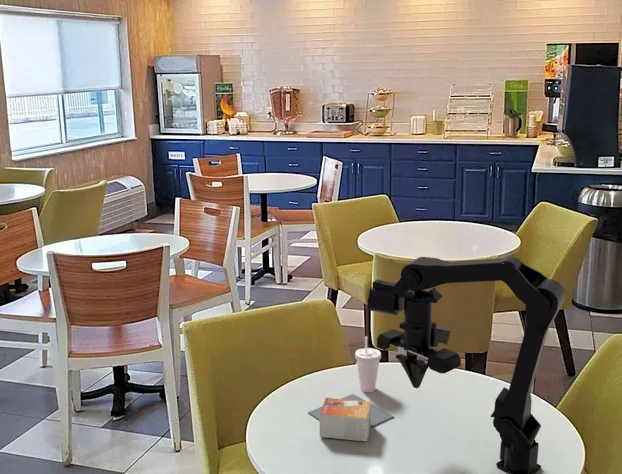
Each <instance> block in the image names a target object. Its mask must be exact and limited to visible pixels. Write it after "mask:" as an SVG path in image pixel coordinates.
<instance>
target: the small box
mask: <svg viewBox="0 0 622 474" xmlns="http://www.w3.org/2000/svg"><path fill="white" fill-rule="evenodd" d="M372 403H373V402H372V401H368V400H365V401H357V400H346V399H342V398H335V397H334V398H333V397H325V399H324V402H323V404H322V406H321V407H322V409H321V412H320V417H319V419H320V420H319V438H325V439H326V438H327V439H337V440H347V441H349V440H350V441H358V442H368V439H369V435H370V431H371V430H370V429H371V428H370V426H371V405H372Z"/></svg>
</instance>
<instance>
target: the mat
mask: <svg viewBox="0 0 622 474" xmlns="http://www.w3.org/2000/svg"><path fill="white" fill-rule="evenodd" d="M341 399H346V400H357V401H366V400H365V399H363V398H361V397H359V396H358V395H356V394H354V393H352V394H349V395H346V396H344V397H342V398H341ZM321 409H322V406H320V407H318V408H314V409H313V410H310V411H308V412H307V414H308V415H310V416H312V417H313V418H314V419H317V420H318V421H320V419H319V417H320V412H321ZM393 418H395V415H392V414H391V413H390V412H388V411H386V410H384V409H381V407H378V406H377V405H375V404H372V405H371V426H370V429H372V428H375V427H376V426H379V425H380V424H383V423H384V422H387V421H389V420H391V419H393Z"/></svg>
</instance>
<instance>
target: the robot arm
mask: <svg viewBox="0 0 622 474" xmlns="http://www.w3.org/2000/svg"><path fill="white" fill-rule="evenodd" d="M501 281H502V282H503V283H504V284H506V286H507V287H509V289H510V290H511V292H512V293H513V294H514V295H515V296H516V298H517V299H518V300H519V301H521V302H522V303H523V304H524V305H525V308H524V310H525V311H524V319H525V320H524V322H525V329H524V330H525V331H524V335H523V338H522V341H521V345H520V348H519V353H518V355H517V359H516V362H515V367H514V370H513V374H512V377H511V381H510V385H509V387H508V388H509V389H508V388H507V387H503V388H502V389H501V391H500V392H499V394H498V395H497V396H496V398H495V401H494V409H493V412H492V413H491V414H490V418H493V419H492V424H493V428H495V431H496V432H497V433H498V434H499V437H500V439H501V441H500V448H499V449H500V450H499V461H497V462H496V467H498V468H499V469H500V470H501V469H502V470H503V471H505V472H507V473H509V474H535V473H537V472H538V471H540V470H541V469H542V465H541V464H539V463H538V456H539V445H540V443H539V442H537V441H536V437H537V435H538V434H539V431H541V427H542V424H541V423H540V422H539V421H538V420H537V418H535V416H534V415H533V414H532V403H533V402H532V401H533V400H532V393H531V392H532V388H533V384H534V381H535V377H536V374H537V370H538V367H539V364H540V359H541V357H542V353H543V349H544V346H545V344H546V343H545V342H546V338H547V336H548V333H549V330H550V327H551V325H552V323H553V322H554V320H555V319H556V316H557V315H558V313H559V311H560V309H561V307H562V305H563V303H564V302H565V299H566V290H565V289H564V287H563V285H562V284H560V283H559V281H558V280H557V281H556V280H554V279H549V278H548V277H547V276H546V275H544V274H543V273H542V272H540V271H539V270H536V269H535V268H532V267H531V266H529V265H527V264H525V263H524V262H522V260H520V259H519V258H517V257H515V256H506V257H502V258H501V257H500V258H499V257H497V258H484V259H483V258H481V259H469V260H453V261H449V260H443V259H440V258H436V257H427V256H419V257H416V258H415V259H413V260H412V261H410V262H409V263H407V264H406V265H404V266H403V268H402V269H401V272H400V278H399V280H398V281H397V282H389V281H385V280H383V279H376V280H374V281H372V283H371V284H372V285H371V286H372V287H371V289H370V291H369V295H368V298H367V308H368V310H369V312H370V311H371V312H376V313H380V314H386V315H392V316H397V315H399V313H400V312H402V311H403V322H400V323H399V328H400V329H401V330H403V332H402V331H400V330H397V329H396V328H391V329H390V330H388V331H385V332H382V333H379V335H378V336H377V337H376V348H378V349H381V350H383V351H388V350H389V349H390V348H391V345H392V346H394V347H396V348H397V351H398V353H397V355H395V358H396V359H397V360H398V362H399V363H400V364H401V367H402V368H403V370H404V371H405V373H406V375H407V377H408V380H409V381H410V383H411V386H412V387H413V388H414V389H416V390H417V389H419V388H420V387H421V384H422V382H423V379H424V377H425V375H426V372H427V370H428V368H429V369H430V370H431V371H433V372H437V373H439V374H447V373H449V372H450V371H453V370H455V369H457V368H459V367H461V364H462V363H461V362H462V361H461V360H462V358H461V357H462V356H461V355H460V353H458V352H456V351H452V350H450V349H448V348H445V347H444V348H442V349H439V350H437V349H434V348H436V347H438V346H439V344H444V345H448V343H449V339H450V337H451V336H450V335H451V331H452V330H451V329H448V328H445V327H442V326H440V325H437V323H436V322H435V321H433V304H437V303H438V302H439V301H441V299H443V297H444V296H443V295H442V293H440V292H439V291H438V290H437V288H436V287H438V286H441V285H445V284H454V283H455V284H457V283H476V282H478V283H480V282H481V283H482V282H501ZM429 289H430V290H429Z"/></svg>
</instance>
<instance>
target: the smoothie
mask: <svg viewBox="0 0 622 474" xmlns="http://www.w3.org/2000/svg"><path fill="white" fill-rule="evenodd" d="M354 356H355V357H354V358H355V359H356V365H357V372H358V379H359V388H360V391H361V392H363V393H373V392H375V390H376V385H377V378H378V373H379V365H380V360H381V359H382V352H381V351H380V350H378V349H376V348H372V347H368V336H364V348H359V349H357V350H355V355H354Z"/></svg>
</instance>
